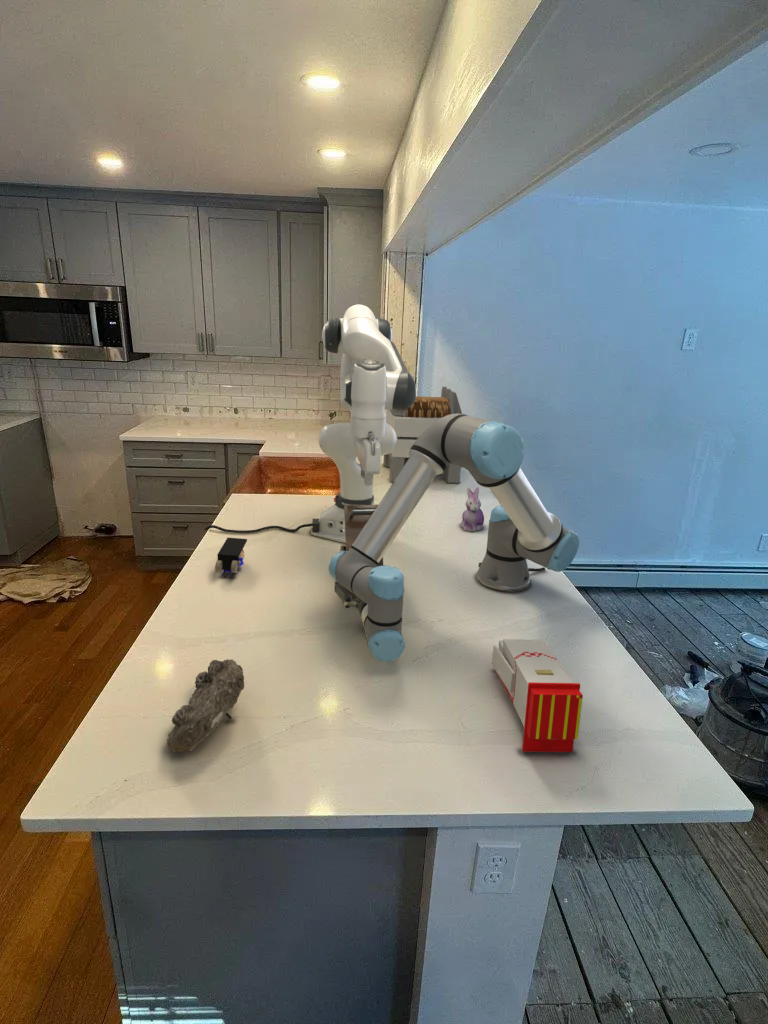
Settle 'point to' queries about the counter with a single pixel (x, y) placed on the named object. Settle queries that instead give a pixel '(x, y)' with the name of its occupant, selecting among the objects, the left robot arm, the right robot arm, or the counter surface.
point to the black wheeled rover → (230, 556)
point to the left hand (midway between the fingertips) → (366, 481)
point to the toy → (539, 694)
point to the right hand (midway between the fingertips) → (363, 572)
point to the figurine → (473, 512)
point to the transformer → (419, 429)
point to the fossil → (206, 705)
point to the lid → (357, 522)
